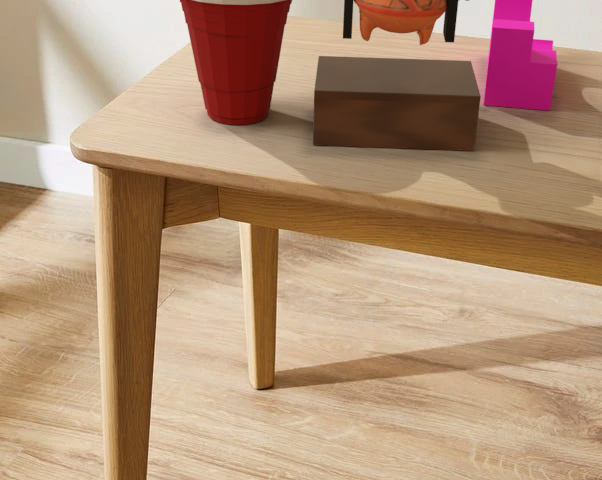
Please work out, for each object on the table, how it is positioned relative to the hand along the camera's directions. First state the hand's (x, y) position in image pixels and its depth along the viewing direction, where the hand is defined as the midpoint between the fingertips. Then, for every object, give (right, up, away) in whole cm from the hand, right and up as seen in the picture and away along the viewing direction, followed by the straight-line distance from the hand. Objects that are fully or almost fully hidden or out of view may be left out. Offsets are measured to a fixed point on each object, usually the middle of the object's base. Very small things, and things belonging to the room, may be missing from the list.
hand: (397, 35), depth 84 cm
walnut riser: (0, -7, +5) cm, 9 cm away
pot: (0, 0, 0) cm, 0 cm away
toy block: (+14, -1, +16) cm, 21 cm away
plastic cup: (-14, -5, +7) cm, 17 cm away
